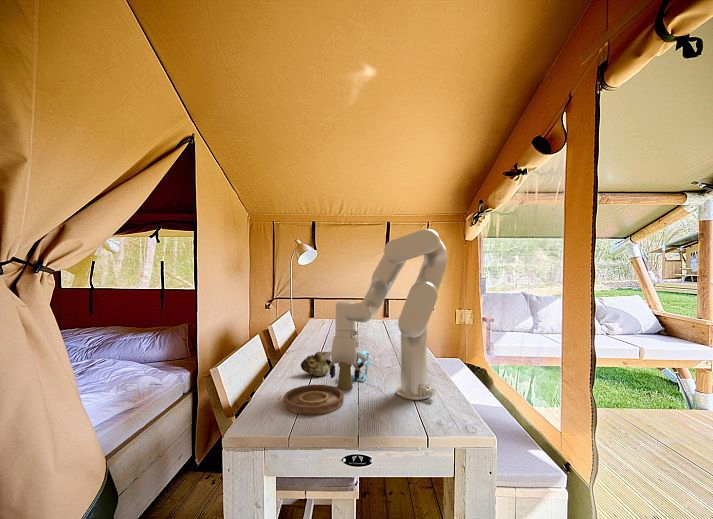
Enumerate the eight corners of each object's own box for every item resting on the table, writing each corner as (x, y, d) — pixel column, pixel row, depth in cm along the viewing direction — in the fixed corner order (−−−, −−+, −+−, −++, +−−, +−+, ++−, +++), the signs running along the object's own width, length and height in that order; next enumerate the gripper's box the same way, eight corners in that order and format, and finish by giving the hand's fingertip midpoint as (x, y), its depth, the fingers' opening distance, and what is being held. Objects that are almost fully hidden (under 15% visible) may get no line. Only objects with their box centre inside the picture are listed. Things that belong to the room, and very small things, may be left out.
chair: (372, 376, 141) (372, 348, 141) (363, 382, 133) (363, 352, 134) (356, 374, 144) (356, 346, 145) (346, 379, 137) (347, 350, 137)
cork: (344, 383, 132) (344, 355, 132) (356, 387, 128) (356, 358, 128) (333, 388, 127) (333, 359, 127) (345, 391, 123) (345, 362, 124)
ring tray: (355, 402, 113) (355, 395, 113) (307, 421, 99) (307, 413, 99) (319, 387, 128) (319, 380, 128) (272, 402, 114) (273, 394, 114)
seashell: (314, 369, 151) (314, 347, 151) (335, 373, 145) (335, 350, 145) (299, 375, 142) (299, 352, 142) (320, 380, 136) (320, 355, 136)
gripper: (369, 333, 129) (368, 377, 129) (327, 330, 134) (326, 373, 134) (364, 337, 122) (363, 384, 122) (320, 333, 127) (319, 379, 126)
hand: (344, 378), depth 128 cm, fingers open, 9 cm apart
